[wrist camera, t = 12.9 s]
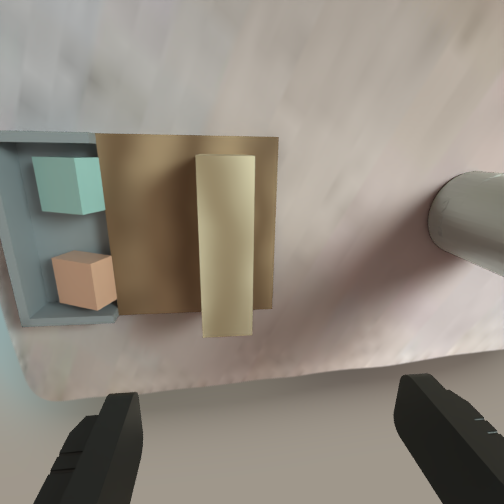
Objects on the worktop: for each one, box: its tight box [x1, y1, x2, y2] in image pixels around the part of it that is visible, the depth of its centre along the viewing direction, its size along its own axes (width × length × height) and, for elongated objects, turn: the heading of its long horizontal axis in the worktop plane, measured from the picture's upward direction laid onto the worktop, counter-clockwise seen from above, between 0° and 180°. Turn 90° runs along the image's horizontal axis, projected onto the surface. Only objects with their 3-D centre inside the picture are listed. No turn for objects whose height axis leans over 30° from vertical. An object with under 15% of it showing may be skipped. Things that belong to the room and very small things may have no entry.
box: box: [0, 131, 119, 327], centre depth 29 cm, size 8×17×4 cm, turn 179°
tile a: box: [32, 156, 105, 215], centre depth 27 cm, size 4×4×2 cm
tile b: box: [51, 250, 117, 311], centre depth 30 cm, size 4×4×2 cm
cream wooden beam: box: [195, 154, 255, 338], centre depth 26 cm, size 4×14×7 cm, turn 179°
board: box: [95, 133, 279, 315], centre depth 31 cm, size 16×17×2 cm
